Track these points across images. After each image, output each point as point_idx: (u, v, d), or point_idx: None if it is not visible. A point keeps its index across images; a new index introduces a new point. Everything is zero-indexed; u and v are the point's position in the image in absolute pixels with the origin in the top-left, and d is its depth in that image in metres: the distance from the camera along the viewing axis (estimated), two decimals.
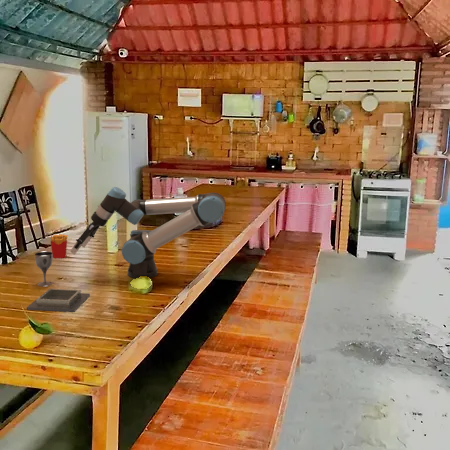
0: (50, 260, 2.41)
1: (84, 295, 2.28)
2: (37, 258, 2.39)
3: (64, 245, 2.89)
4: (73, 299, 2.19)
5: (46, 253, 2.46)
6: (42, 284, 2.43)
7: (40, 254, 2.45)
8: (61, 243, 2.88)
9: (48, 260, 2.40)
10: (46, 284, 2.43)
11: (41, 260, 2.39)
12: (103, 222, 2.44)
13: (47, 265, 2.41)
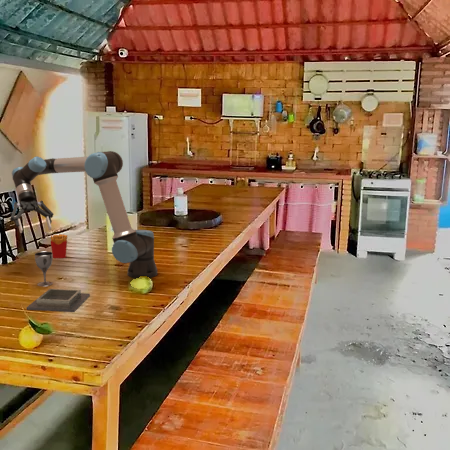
0: (50, 260, 2.41)
1: (84, 295, 2.28)
2: (37, 258, 2.39)
3: (64, 245, 2.89)
4: (73, 299, 2.19)
5: (46, 253, 2.46)
6: (42, 284, 2.43)
7: (40, 254, 2.45)
8: (61, 243, 2.88)
9: (48, 260, 2.40)
10: (46, 284, 2.43)
11: (41, 260, 2.39)
12: (22, 194, 2.53)
13: (47, 265, 2.41)
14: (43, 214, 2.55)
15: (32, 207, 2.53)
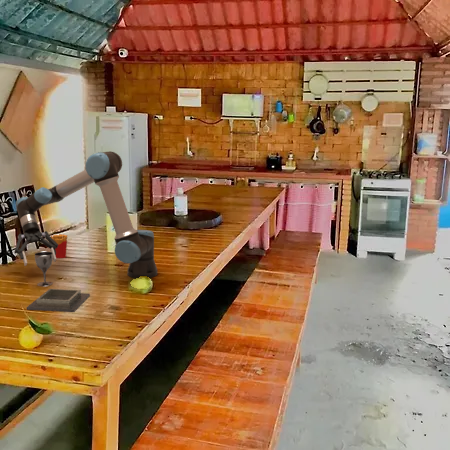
0: (50, 260, 2.41)
1: (84, 295, 2.28)
2: (37, 258, 2.39)
3: (64, 245, 2.89)
4: (73, 299, 2.19)
5: (46, 253, 2.46)
6: (42, 284, 2.43)
7: (40, 254, 2.45)
8: (61, 243, 2.88)
9: (48, 260, 2.40)
10: (46, 284, 2.43)
11: (41, 260, 2.39)
12: (26, 225, 2.50)
13: (47, 265, 2.41)
14: (48, 245, 2.52)
15: (36, 238, 2.50)
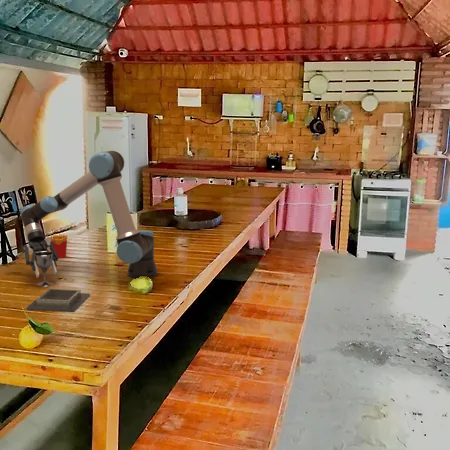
0: (50, 260, 2.41)
1: (84, 295, 2.28)
2: (37, 258, 2.39)
3: (64, 245, 2.89)
4: (73, 299, 2.19)
5: (46, 253, 2.46)
6: (42, 284, 2.43)
7: (40, 254, 2.45)
8: (61, 243, 2.88)
9: (48, 260, 2.40)
10: (46, 284, 2.43)
11: (41, 260, 2.39)
12: (31, 234, 2.47)
13: (47, 265, 2.41)
14: None
15: (41, 247, 2.47)
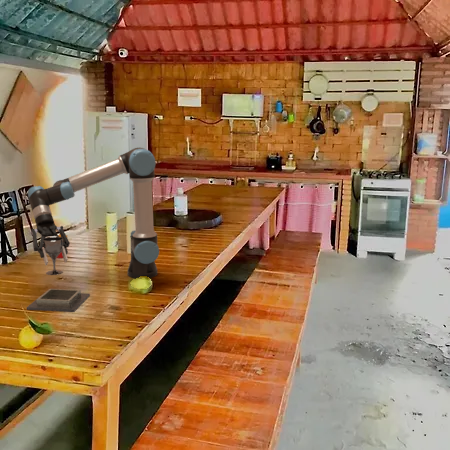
0: (60, 246, 2.17)
1: (84, 295, 2.28)
2: (46, 244, 2.15)
3: None
4: (73, 299, 2.19)
5: (56, 238, 2.22)
6: (51, 273, 2.19)
7: (49, 239, 2.21)
8: None
9: (58, 246, 2.16)
10: (56, 273, 2.19)
11: (50, 246, 2.14)
12: (39, 217, 2.22)
13: (57, 252, 2.16)
14: None
15: (51, 232, 2.23)
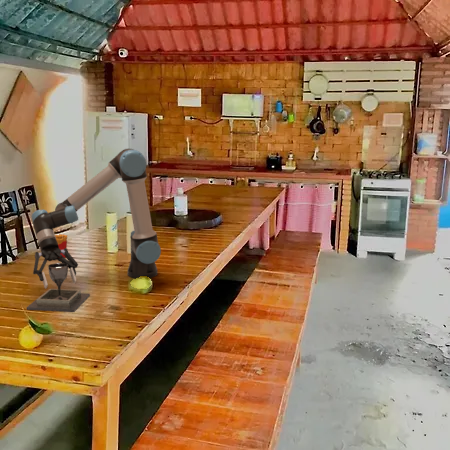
0: (65, 272, 2.19)
1: (84, 295, 2.28)
2: (51, 270, 2.17)
3: (64, 245, 2.89)
4: (73, 299, 2.19)
5: (61, 265, 2.24)
6: (57, 299, 2.20)
7: (54, 266, 2.23)
8: (61, 243, 2.88)
9: (63, 272, 2.18)
10: (61, 299, 2.20)
11: (55, 272, 2.16)
12: (44, 241, 2.23)
13: (62, 278, 2.18)
14: None
15: (55, 256, 2.23)
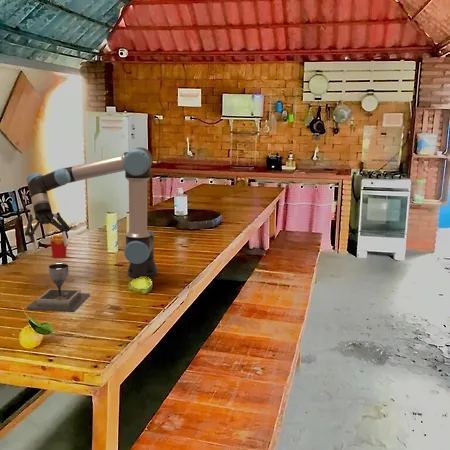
0: (66, 273, 2.18)
1: (84, 295, 2.28)
2: (51, 271, 2.16)
3: (64, 245, 2.89)
4: (73, 299, 2.19)
5: (61, 265, 2.23)
6: None
7: (54, 266, 2.22)
8: (61, 243, 2.88)
9: (63, 274, 2.17)
10: None
11: (56, 274, 2.16)
12: (38, 205, 2.34)
13: (62, 279, 2.18)
14: (59, 228, 2.38)
15: (48, 220, 2.36)
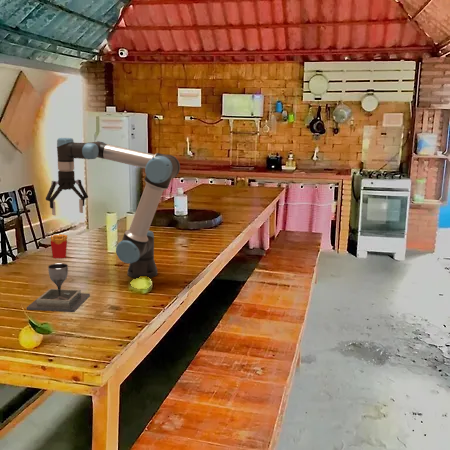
0: (65, 273, 2.18)
1: (84, 295, 2.28)
2: (51, 271, 2.16)
3: (64, 245, 2.89)
4: (73, 299, 2.19)
5: (61, 265, 2.23)
6: None
7: (54, 266, 2.22)
8: (61, 243, 2.88)
9: (63, 273, 2.17)
10: None
11: (55, 273, 2.16)
12: (63, 174, 2.44)
13: (62, 279, 2.18)
14: (78, 195, 2.53)
15: (69, 188, 2.49)
